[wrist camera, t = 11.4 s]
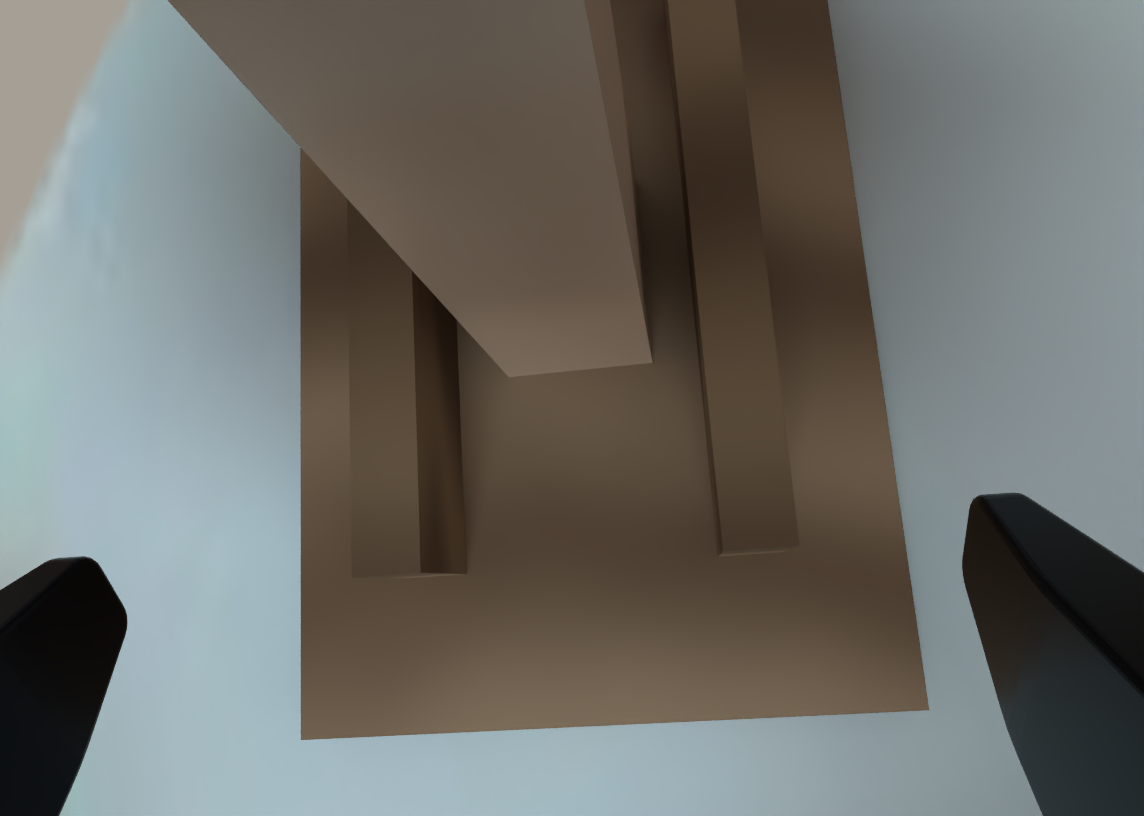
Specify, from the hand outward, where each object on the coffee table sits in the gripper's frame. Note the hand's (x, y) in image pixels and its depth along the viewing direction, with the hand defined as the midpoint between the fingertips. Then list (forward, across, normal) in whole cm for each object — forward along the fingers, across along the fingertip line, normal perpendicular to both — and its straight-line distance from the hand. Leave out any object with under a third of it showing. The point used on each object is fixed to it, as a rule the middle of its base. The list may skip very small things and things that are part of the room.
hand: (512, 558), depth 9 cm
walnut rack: (+11, 0, +2) cm, 11 cm away
